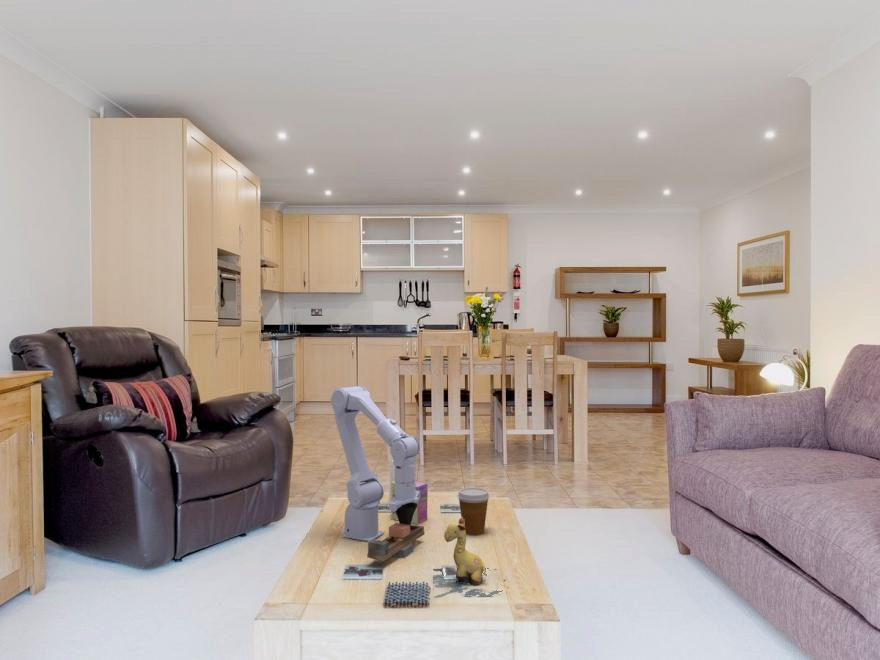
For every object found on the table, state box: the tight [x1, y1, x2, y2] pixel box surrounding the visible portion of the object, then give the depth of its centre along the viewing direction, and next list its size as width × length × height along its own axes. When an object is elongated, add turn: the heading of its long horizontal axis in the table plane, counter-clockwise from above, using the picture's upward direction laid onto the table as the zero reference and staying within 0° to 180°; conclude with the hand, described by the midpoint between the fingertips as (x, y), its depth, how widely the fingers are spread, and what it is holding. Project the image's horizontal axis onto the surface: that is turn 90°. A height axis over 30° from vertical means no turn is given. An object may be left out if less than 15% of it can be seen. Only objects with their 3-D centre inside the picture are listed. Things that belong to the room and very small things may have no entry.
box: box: [390, 481, 429, 526], centre depth 191 cm, size 10×6×12 cm, turn 58°
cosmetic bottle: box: [387, 456, 395, 508], centre depth 204 cm, size 6×6×22 cm
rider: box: [388, 522, 410, 541], centre depth 164 cm, size 4×4×4 cm
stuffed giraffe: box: [432, 516, 503, 598], centre depth 143 cm, size 16×18×16 cm
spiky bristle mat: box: [382, 581, 431, 609], centre depth 135 cm, size 10×11×2 cm
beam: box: [366, 524, 425, 561], centre depth 163 cm, size 7×22×6 cm, turn 154°
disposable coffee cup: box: [457, 487, 490, 536], centre depth 180 cm, size 10×10×12 cm
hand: (405, 530), depth 167 cm, fingers closed
